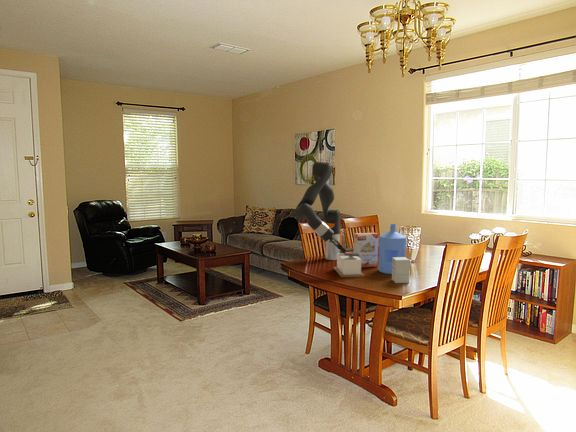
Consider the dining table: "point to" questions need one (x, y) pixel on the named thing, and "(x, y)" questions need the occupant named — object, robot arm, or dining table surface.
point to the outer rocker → (351, 254)
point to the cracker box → (366, 248)
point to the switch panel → (348, 266)
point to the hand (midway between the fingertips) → (345, 252)
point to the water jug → (390, 249)
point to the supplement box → (400, 269)
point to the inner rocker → (346, 250)
